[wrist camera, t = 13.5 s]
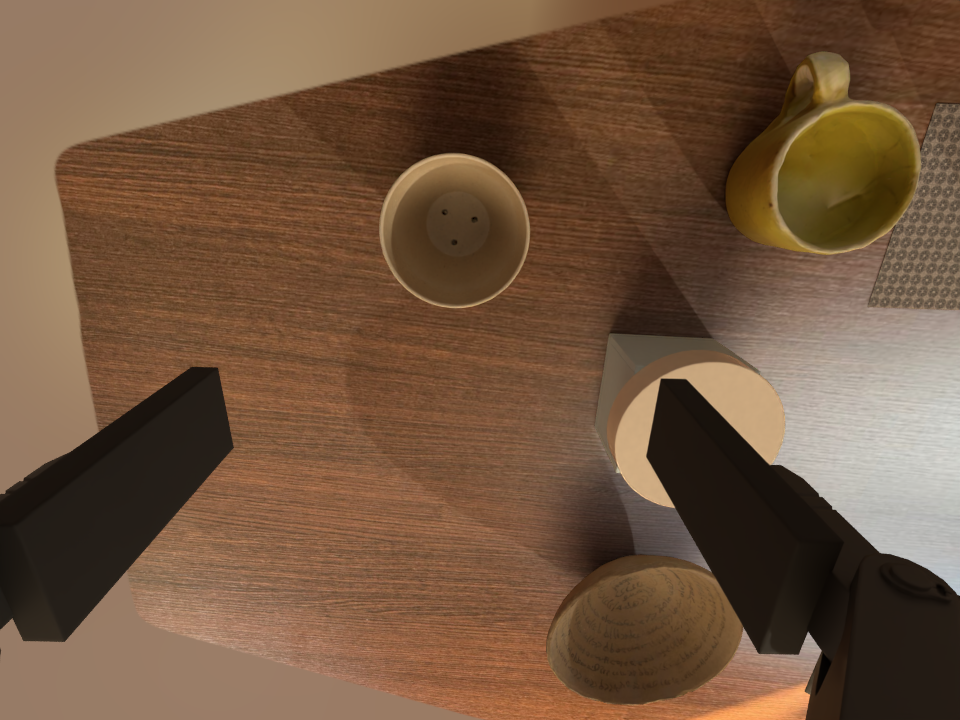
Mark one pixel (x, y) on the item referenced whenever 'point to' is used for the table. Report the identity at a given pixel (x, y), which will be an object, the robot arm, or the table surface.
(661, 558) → the bowl
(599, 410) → the container
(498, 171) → the flower pot
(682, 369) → the small plate
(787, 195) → the mug
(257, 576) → the table surface
